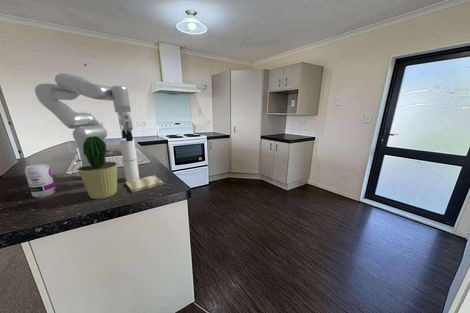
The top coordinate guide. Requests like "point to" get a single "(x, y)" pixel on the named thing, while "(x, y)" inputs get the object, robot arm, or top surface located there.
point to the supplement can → (40, 180)
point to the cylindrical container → (129, 159)
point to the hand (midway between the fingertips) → (127, 140)
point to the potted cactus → (98, 170)
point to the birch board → (143, 183)
